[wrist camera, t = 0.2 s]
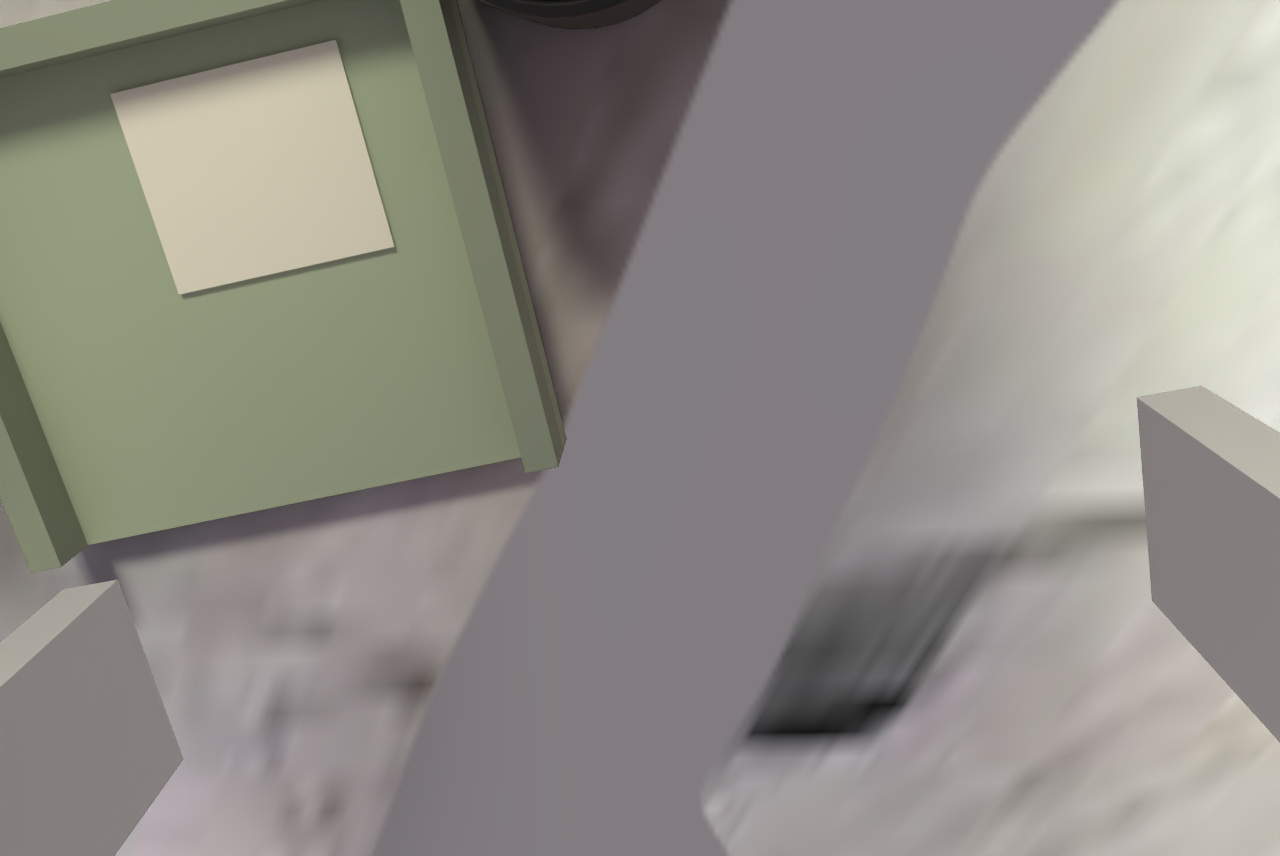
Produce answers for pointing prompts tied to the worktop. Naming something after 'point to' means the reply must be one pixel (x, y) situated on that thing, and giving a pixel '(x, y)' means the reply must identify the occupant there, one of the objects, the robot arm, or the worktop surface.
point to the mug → (574, 11)
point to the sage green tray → (250, 265)
